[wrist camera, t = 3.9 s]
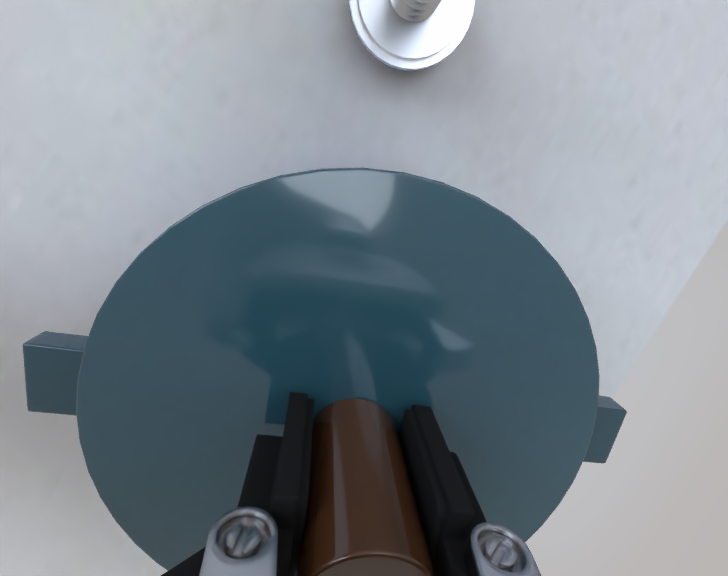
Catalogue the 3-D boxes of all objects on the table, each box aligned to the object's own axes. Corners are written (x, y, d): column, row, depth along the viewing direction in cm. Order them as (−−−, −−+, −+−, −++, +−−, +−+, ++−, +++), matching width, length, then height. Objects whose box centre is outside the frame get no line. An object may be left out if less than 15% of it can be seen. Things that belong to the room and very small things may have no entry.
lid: (93, 115, 10) (-239, 44, 4) (646, 218, 12) (945, 268, 6) (101, 576, 15) (-54, 858, 9) (505, 593, 17) (602, 828, 11)
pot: (141, 138, 17) (-20, 116, 9) (562, 215, 20) (719, 248, 12) (137, 425, 22) (23, 580, 14) (486, 456, 24) (564, 601, 16)
